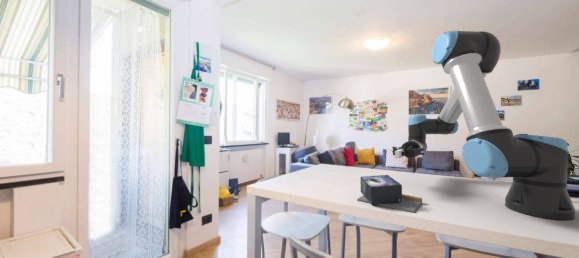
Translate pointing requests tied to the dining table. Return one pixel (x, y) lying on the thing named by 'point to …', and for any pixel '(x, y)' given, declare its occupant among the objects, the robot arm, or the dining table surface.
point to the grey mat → (400, 203)
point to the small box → (381, 189)
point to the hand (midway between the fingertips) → (397, 154)
